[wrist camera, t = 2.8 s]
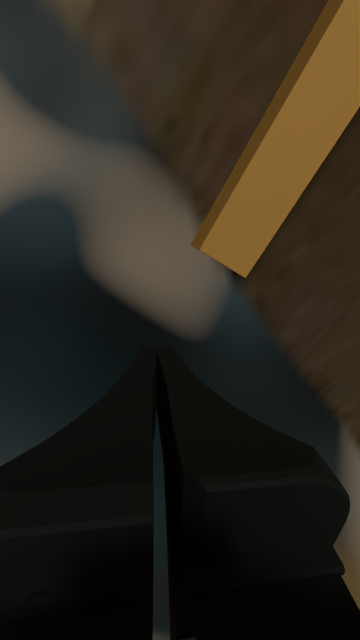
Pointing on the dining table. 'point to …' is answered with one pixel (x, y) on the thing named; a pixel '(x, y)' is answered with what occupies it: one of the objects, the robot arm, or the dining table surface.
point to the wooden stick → (288, 141)
